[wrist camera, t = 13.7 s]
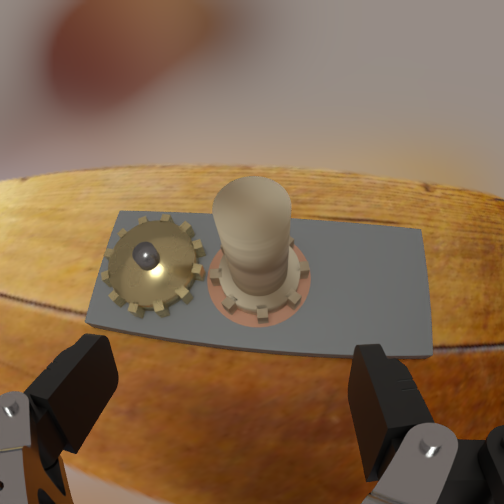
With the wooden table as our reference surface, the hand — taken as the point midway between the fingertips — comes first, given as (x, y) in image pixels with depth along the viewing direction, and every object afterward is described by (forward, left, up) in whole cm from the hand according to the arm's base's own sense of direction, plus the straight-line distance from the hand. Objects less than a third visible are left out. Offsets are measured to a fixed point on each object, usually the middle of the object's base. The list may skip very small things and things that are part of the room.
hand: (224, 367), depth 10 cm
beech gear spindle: (-7, -6, -15) cm, 17 cm away
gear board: (-7, -6, -16) cm, 19 cm away
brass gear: (-2, -14, -15) cm, 20 cm away
